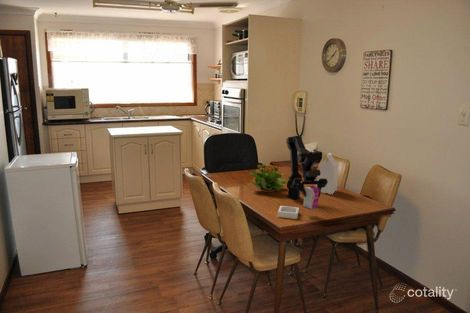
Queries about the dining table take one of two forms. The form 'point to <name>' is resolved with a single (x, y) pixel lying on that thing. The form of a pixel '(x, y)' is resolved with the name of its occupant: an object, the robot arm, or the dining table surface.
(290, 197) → the robot arm
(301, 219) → the dining table surface
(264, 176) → the potted flower
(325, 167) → the milk
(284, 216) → the collar
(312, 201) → the supplement box
